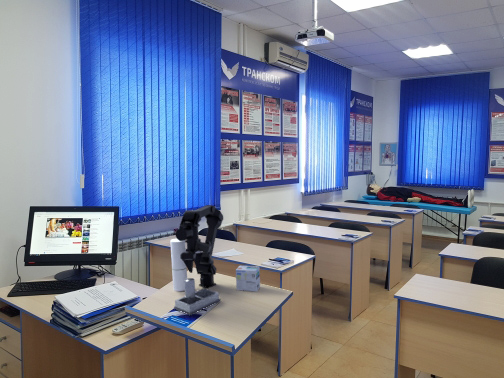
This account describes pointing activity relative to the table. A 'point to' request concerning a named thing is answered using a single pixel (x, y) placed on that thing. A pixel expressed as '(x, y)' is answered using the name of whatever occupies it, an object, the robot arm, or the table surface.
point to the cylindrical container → (178, 265)
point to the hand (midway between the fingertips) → (194, 270)
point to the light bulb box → (248, 278)
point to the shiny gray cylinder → (190, 290)
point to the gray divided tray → (198, 301)
